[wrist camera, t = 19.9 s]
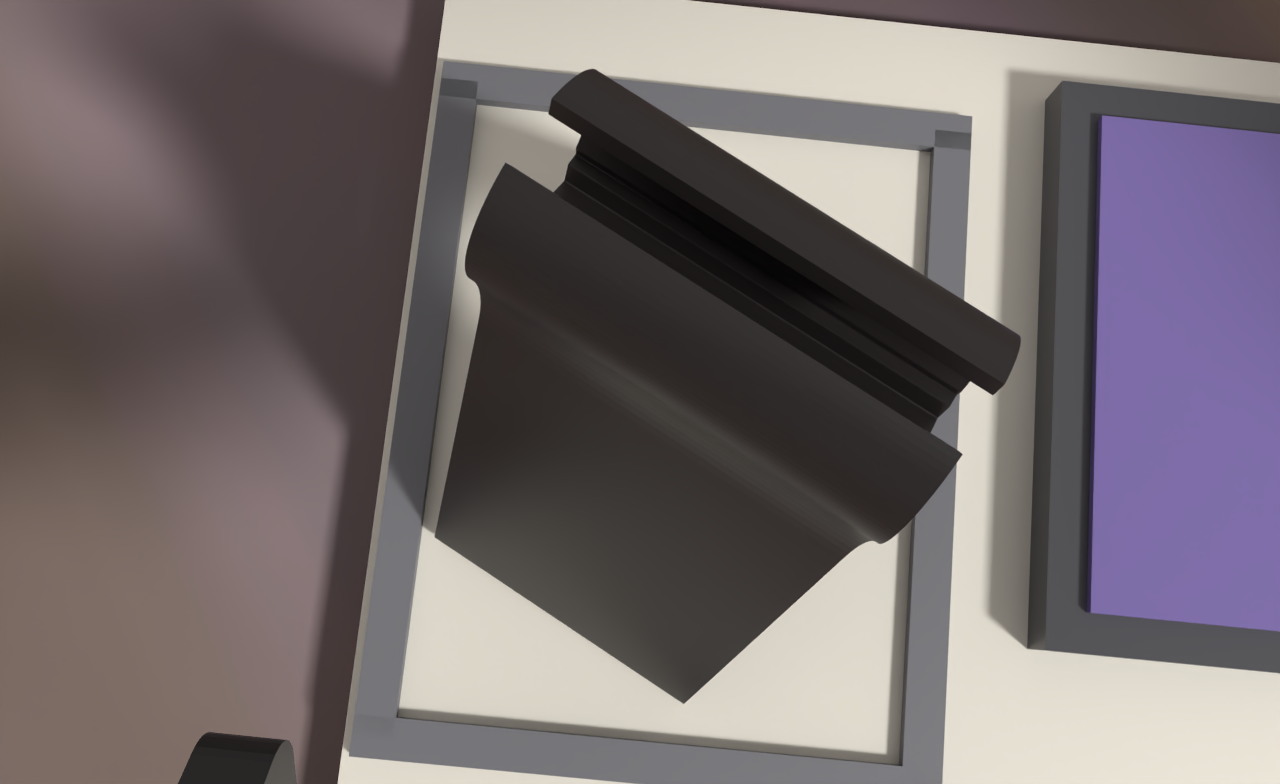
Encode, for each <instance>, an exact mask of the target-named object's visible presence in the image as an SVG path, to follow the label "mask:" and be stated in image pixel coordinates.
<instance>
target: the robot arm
mask: <svg viewBox="0 0 1280 784" xmlns="http://www.w3.org/2000/svg"><path fill="white" fill-rule="evenodd" d="M178 784H296V774H295V765H294V755H293V748H292V745H291V743H290V741H288V740H281V739H271V738H261V737H251V736H242V735H232V734H222V733H212V732H208V733H206V734H204V735H203V736H202V737H201V738H200V740H199V741H198V742H197V744H196V746H195V748H194V750H193V752H192V754H191V756H190V758H189V760H188V763H187V765H186V767H185V769H184V772H183V774H182V776H181V778H180V781H179V783H178Z"/></svg>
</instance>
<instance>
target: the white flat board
mask: <svg viewBox="0 0 1280 784" xmlns="http://www.w3.org/2000/svg"><path fill="white" fill-rule="evenodd" d="M444 61H451V62H460V63H470V64H479V65H489V66H498V67H508V68H517V69H527V70H536V71H546V72H555V73H565V74H574V75H578V74H579V73H581V72H583V71H585V70H588V69H596V70H597V71H599V72H601V73H602V74H604V75H605V76H607V77H609V78H613V79H622V80H632V81H641V82H651V83H660V84H670V85H679V86H689V87H698V88H708V89H717V90H727V91H736V92H746V93H755V94H765V95H774V96H784V97H793V98H803V99H813V100H822V101H832V102H841V103H851V104H860V105H870V106H879V107H889V108H898V109H908V110H917V111H927V112H936V113H946V114H955V115H965V116H972V136H971V158H970V180H969V202H968V224H967V247H966V269H965V291H964V301H966V302H967V303H969V304H971V305H972V306H974V307H975V308H977V309H979V310H980V311H982V312H983V313H985V314H987V315H988V316H990V317H991V318H993V319H995V320H996V321H998V322H999V323H1001V324H1002V325H1004V326H1006V327H1007V328H1009V329H1010V330H1012V331H1014V332H1015V333H1017V334H1018V335H1020V337H1021V344H1020V349H1019V353H1018V356H1017V359H1016V361H1015V364H1014V366H1013V368H1012V371H1011V373H1010V375H1009V377H1008V379H1007V381H1006V383H1005V385H1004V386H1003V387H1002V388H1001V389H999V390H998V391H997V392H996V393H995V394H994V395H991V394H990V393H988V392H986V391H985V390H983V389H982V388H980V387H979V386H977V385H975V384H974V383H972V382H971V381H970V382H969V383H968V385H967V386H966V387H965V388H964V389H963V391H962V392H961V393H960V402H959V424H958V446H957V450H958V451H960V452H961V453H962V454H963V455H962V456H961V458H960V459H959V461H958V462H957V468H956V491H955V513H954V535H953V557H952V579H951V601H950V624H949V646H948V668H947V690H946V712H945V734H944V757H943V779H942V784H1280V674H1279V673H1269V672H1258V671H1248V670H1238V669H1227V668H1217V667H1207V666H1197V665H1186V664H1176V663H1166V662H1156V661H1145V660H1135V659H1125V658H1114V657H1104V656H1094V655H1084V654H1073V653H1063V652H1053V651H1043V650H1032V649H1027V638H1028V607H1029V577H1030V546H1031V516H1032V485H1033V455H1034V424H1035V394H1036V363H1037V333H1038V302H1039V272H1040V242H1041V211H1042V181H1043V150H1044V120H1045V100H1046V99H1047V98H1048V97H1049V95H1050V94H1051V93H1052V92H1053V91H1054V90H1055V88H1056V87H1057V86H1058V85H1059V84H1060V83H1061V81H1071V82H1080V83H1090V84H1099V85H1109V86H1118V87H1128V88H1137V89H1147V90H1156V91H1166V92H1175V93H1185V94H1194V95H1203V96H1213V97H1222V98H1232V99H1241V100H1251V101H1260V102H1270V103H1279V104H1280V63H1274V62H1264V61H1255V60H1245V59H1236V58H1226V57H1217V56H1208V55H1198V54H1189V53H1179V52H1170V51H1161V50H1151V49H1142V48H1132V47H1123V46H1114V45H1104V44H1095V43H1085V42H1076V41H1067V40H1057V39H1048V38H1038V37H1029V36H1020V35H1010V34H1001V33H991V32H982V31H972V30H963V29H954V28H944V27H935V26H925V25H916V24H907V23H897V22H888V21H878V20H869V19H860V18H850V17H841V16H831V15H822V14H813V13H803V12H794V11H784V10H775V9H765V8H756V7H747V6H737V5H728V4H718V3H709V2H700V1H690V0H445V6H444V13H443V21H442V28H441V35H440V42H439V50H438V57H437V64H436V72H435V79H434V86H433V93H432V101H431V108H430V115H429V122H428V130H427V137H426V144H425V152H424V159H423V166H422V173H421V181H420V188H419V195H418V202H417V210H416V217H415V224H414V231H413V239H412V246H411V253H410V261H409V268H408V275H407V282H406V290H405V297H404V304H403V311H402V319H401V326H400V333H399V340H398V348H397V355H396V362H395V370H394V377H393V384H392V391H391V399H390V406H389V413H388V420H387V428H386V435H385V442H384V450H383V457H382V464H381V471H380V479H379V486H378V493H377V500H376V508H375V515H374V522H373V529H372V537H371V544H370V551H369V559H368V566H367V573H366V580H365V588H364V595H363V602H362V609H361V617H360V624H359V631H358V638H357V646H356V653H355V660H354V668H353V675H352V682H351V689H350V697H349V704H348V711H347V718H346V726H345V733H344V740H343V748H342V755H341V762H340V769H339V777H338V784H634V783H623V782H613V781H602V780H591V779H581V778H570V777H560V776H549V775H539V774H528V773H518V772H507V771H497V770H486V769H475V768H465V767H454V766H444V765H433V764H423V763H412V762H402V761H391V760H381V759H370V758H359V757H349V751H350V743H351V736H352V729H353V721H354V714H355V707H356V699H357V692H358V685H359V677H360V670H361V663H362V655H363V648H364V641H365V633H366V626H367V619H368V611H369V604H370V597H371V589H372V582H373V575H374V567H375V560H376V553H377V545H378V538H379V531H380V523H381V516H382V509H383V501H384V494H385V487H386V480H387V472H388V465H389V458H390V450H391V443H392V436H393V428H394V421H395V414H396V406H397V399H398V392H399V384H400V377H401V370H402V362H403V355H404V348H405V340H406V333H407V326H408V318H409V311H410V304H411V296H412V289H413V282H414V274H415V267H416V260H417V252H418V245H419V238H420V230H421V223H422V216H423V208H424V201H425V194H426V186H427V179H428V172H429V164H430V157H431V150H432V142H433V135H434V128H435V120H436V113H437V106H438V98H439V91H440V84H441V76H442V69H443V62H444ZM548 113H549V112H542V111H532V110H523V109H513V108H504V107H494V106H485V105H477V111H476V118H475V126H474V134H473V141H472V149H471V157H470V165H469V172H468V180H467V188H466V195H465V203H464V211H463V219H462V226H461V234H460V242H459V249H458V257H457V265H456V273H455V280H454V288H453V296H452V303H451V311H450V319H449V327H448V334H447V342H446V350H445V357H444V365H443V373H442V380H441V388H440V396H439V404H438V411H437V419H436V427H435V434H434V442H433V450H432V458H431V465H430V473H429V481H428V488H427V496H426V504H425V512H424V519H423V527H422V535H421V542H420V550H419V558H418V566H417V573H416V581H415V589H414V596H413V604H412V612H411V620H410V627H409V635H408V643H407V650H406V658H405V666H404V674H403V681H402V689H401V697H400V704H399V712H398V717H405V718H416V719H426V720H437V721H447V722H458V723H468V724H479V725H489V726H500V727H510V728H521V729H531V730H542V731H552V732H563V733H573V734H583V735H594V736H604V737H615V738H625V739H636V740H646V741H657V742H667V743H678V744H688V745H699V746H709V747H720V748H730V749H741V750H751V751H762V752H772V753H782V754H793V755H803V756H814V757H824V758H835V759H845V760H856V761H866V762H877V763H887V764H898V765H899V752H900V733H901V713H902V694H903V675H904V656H905V636H906V617H907V598H908V579H909V559H910V540H911V521H912V520H911V521H910V522H909V523H908V524H907V525H906V526H905V527H904V528H903V529H902V530H901V531H900V532H899V533H898V534H896V535H895V536H894V537H893V538H892V539H890V540H889V541H887V542H885V543H883V544H878V543H876V542H875V541H869V542H866V543H864V544H862V545H860V546H858V547H857V548H855V549H854V550H853V551H852V552H850V553H849V554H848V555H847V556H846V557H844V558H843V559H842V560H841V561H840V562H839V563H838V564H837V565H836V566H835V567H833V568H832V569H831V570H830V571H829V572H828V573H827V574H826V575H825V576H824V577H823V578H821V579H820V580H819V581H818V582H817V583H816V584H815V585H814V586H813V587H812V588H811V589H809V590H808V591H807V592H806V593H805V594H804V595H803V596H802V597H801V598H800V599H798V600H797V601H796V602H795V603H794V604H793V605H792V606H791V607H790V608H789V609H788V610H786V611H785V612H784V613H783V614H782V615H781V616H780V617H779V618H778V619H777V620H775V621H774V622H773V623H772V624H771V625H770V626H769V627H768V628H767V629H766V630H765V631H763V632H762V633H761V634H760V635H759V636H758V637H757V638H756V639H755V640H754V641H752V642H751V643H750V644H749V645H748V646H747V647H746V648H745V649H744V650H743V651H742V652H740V653H739V654H738V655H737V656H736V657H735V658H734V659H733V660H732V661H731V662H729V663H728V664H727V665H726V666H725V667H724V668H723V669H722V670H721V671H720V672H719V673H717V674H716V675H715V676H714V677H713V678H712V679H711V680H710V681H709V682H708V683H706V684H705V685H704V686H703V687H702V688H701V689H700V690H699V691H698V692H697V693H696V694H694V695H693V696H692V697H691V698H690V699H689V700H688V701H687V702H686V703H685V704H683V703H681V702H680V701H678V700H677V699H675V698H674V697H672V696H671V695H669V694H668V693H666V692H665V691H663V690H662V689H660V688H659V687H657V686H656V685H654V684H653V683H651V682H650V681H648V680H647V679H645V678H644V677H642V676H641V675H639V674H638V673H636V672H635V671H633V670H632V669H630V668H629V667H627V666H626V665H624V664H623V663H621V662H620V661H618V660H617V659H615V658H614V657H612V656H611V655H609V654H608V653H606V652H605V651H603V650H602V649H600V648H599V647H598V646H596V645H595V644H593V643H592V642H590V641H589V640H587V639H586V638H584V637H583V636H581V635H580V634H578V633H577V632H575V631H574V630H572V629H571V628H569V627H568V626H566V625H565V624H563V623H562V622H560V621H559V620H557V619H556V618H554V617H553V616H551V615H550V614H548V613H547V612H545V611H544V610H542V609H541V608H539V607H538V606H536V605H535V604H533V603H532V602H530V601H529V600H527V599H526V598H524V597H523V596H521V595H520V594H518V593H517V592H515V591H514V590H512V589H511V588H509V587H508V586H506V585H505V584H503V583H502V582H500V581H499V580H497V579H496V578H494V577H493V576H491V575H490V574H488V573H487V572H485V571H484V570H482V569H481V568H479V567H478V566H476V565H475V564H473V563H472V562H470V561H469V560H467V559H466V558H465V557H463V556H462V555H460V554H459V553H457V552H456V551H454V550H453V549H451V548H450V547H448V546H447V545H445V544H444V543H442V542H441V541H439V540H438V539H436V538H435V532H436V527H437V522H438V517H439V512H440V507H441V502H442V497H443V492H444V487H445V483H446V478H447V473H448V468H449V463H450V458H451V453H452V448H453V443H454V438H455V433H456V428H457V424H458V419H459V414H460V409H461V404H462V399H463V394H464V389H465V384H466V379H467V374H468V369H469V364H470V360H471V355H472V350H473V345H474V340H475V335H476V330H477V325H478V320H479V314H480V304H481V300H480V292H479V289H478V286H477V285H476V283H475V282H474V281H472V280H471V279H469V278H468V277H467V275H466V272H465V256H466V251H467V247H468V243H469V239H470V236H471V233H472V230H473V227H474V225H475V222H476V220H477V217H478V215H479V212H480V210H481V208H482V206H483V204H484V201H485V199H486V197H487V195H488V193H489V191H490V189H491V187H492V185H493V183H494V182H495V180H496V178H497V176H498V174H499V173H500V171H501V169H502V167H503V166H504V164H505V163H507V164H509V165H511V166H513V167H515V168H516V169H518V170H519V171H521V172H522V173H524V174H526V175H527V176H529V177H530V178H532V179H533V180H535V181H537V182H538V183H540V184H541V185H543V186H544V187H546V188H548V189H549V190H551V191H552V192H554V191H555V190H556V189H557V188H558V187H559V186H560V185H561V184H562V183H563V182H564V180H565V176H566V171H567V167H568V164H569V162H570V161H571V160H572V158H573V157H574V156H575V154H576V146H577V144H578V142H579V139H580V137H581V135H580V134H579V133H577V132H575V131H574V130H572V129H571V128H569V127H568V126H566V125H564V124H563V123H561V122H560V121H558V120H556V119H555V118H553V117H552V116H550V115H549V114H548ZM688 128H690V129H692V130H693V131H695V132H696V133H698V134H700V135H701V136H703V137H704V138H706V139H708V140H709V141H711V142H712V143H714V144H715V145H717V146H719V147H720V148H722V149H723V150H725V151H727V152H728V153H730V154H731V155H733V156H735V157H736V158H738V159H739V160H741V161H743V162H744V163H746V164H747V165H749V166H751V167H752V168H754V169H755V170H757V171H759V172H760V173H762V174H763V175H765V176H767V177H768V178H770V179H771V180H773V181H774V182H776V183H778V184H779V185H781V186H782V187H784V188H786V189H787V190H789V191H790V192H792V193H794V194H795V195H797V196H798V197H800V198H802V199H803V200H805V201H806V202H808V203H810V204H811V205H813V206H814V207H816V208H818V209H819V210H821V211H822V212H824V213H826V214H827V215H829V216H830V217H832V218H833V219H835V220H837V221H838V222H840V223H841V224H843V225H845V226H846V227H848V228H849V229H851V230H853V231H854V232H856V233H857V234H859V235H861V236H862V237H864V238H865V239H867V240H869V241H870V242H872V243H873V244H875V245H877V246H878V247H880V248H881V249H883V250H885V251H886V252H888V253H889V254H891V255H892V256H894V257H896V258H897V259H899V260H900V261H902V262H904V263H905V264H907V265H908V266H910V267H912V268H913V269H915V270H916V271H918V272H920V273H921V274H923V275H924V270H925V251H926V232H927V212H928V193H929V174H930V155H931V152H925V151H915V150H906V149H896V148H887V147H877V146H867V145H858V144H848V143H839V142H829V141H820V140H810V139H800V138H791V137H781V136H772V135H762V134H753V133H743V132H733V131H724V130H714V129H705V128H695V127H688Z"/></svg>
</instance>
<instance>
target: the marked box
mask: <svg viewBox="0 0 1280 784" xmlns="http://www.w3.org/2000/svg"><path fill="white" fill-rule="evenodd" d="M575 76H576V75H574V74H565V73H555V72H546V71H536V70H527V69H517V68H508V67H498V66H489V65H479V64H470V63H460V62H451V61H444V62H443V69H442V76H441V84H440V91H439V98H438V106H437V113H436V120H435V128H434V135H433V142H432V150H431V157H430V164H429V172H428V179H427V186H426V194H425V201H424V208H423V216H422V223H421V230H420V238H419V245H418V252H417V260H416V267H415V274H414V282H413V289H412V296H411V304H410V311H409V318H408V326H407V333H406V340H405V348H404V355H403V362H402V370H401V377H400V384H399V392H398V399H397V406H396V414H395V421H394V428H393V436H392V443H391V450H390V458H389V465H388V472H387V480H386V487H385V494H384V501H383V509H382V516H381V523H380V531H379V538H378V545H377V553H376V560H375V567H374V575H373V582H372V589H371V597H370V604H369V611H368V619H367V626H366V633H365V641H364V648H363V655H362V663H361V670H360V677H359V685H358V692H357V699H356V707H355V714H354V721H353V729H352V736H351V743H350V751H349V757H359V758H370V759H381V760H391V761H402V762H412V763H423V764H433V765H444V766H454V767H465V768H475V769H486V770H497V771H507V772H518V773H528V774H539V775H549V776H560V777H570V778H581V779H591V780H602V781H613V782H623V783H634V784H942V779H943V757H944V734H945V712H946V690H947V668H948V646H949V624H950V601H951V579H952V557H953V535H954V513H955V491H956V468H957V463H956V465H955V466H954V468H953V469H952V470H951V472H950V473H949V474H948V476H947V477H946V479H945V480H944V481H943V483H942V484H941V485H940V486H939V488H938V489H937V490H936V492H935V493H934V494H933V495H932V497H931V498H930V499H929V500H928V502H927V503H926V504H925V505H924V506H923V508H922V509H921V510H920V511H919V512H918V513H917V514H916V515H915V517H914V518H913V519H912V521H911V540H910V559H909V579H908V598H907V617H906V636H905V656H904V675H903V694H902V713H901V733H900V752H899V765H898V764H887V763H877V762H866V761H856V760H845V759H835V758H824V757H814V756H803V755H793V754H782V753H772V752H762V751H751V750H741V749H730V748H720V747H709V746H699V745H688V744H678V743H667V742H657V741H646V740H636V739H625V738H615V737H604V736H594V735H583V734H573V733H563V732H552V731H542V730H531V729H521V728H510V727H500V726H489V725H479V724H468V723H458V722H447V721H437V720H426V719H416V718H405V717H398V712H399V704H400V697H401V689H402V681H403V674H404V666H405V658H406V650H407V643H408V635H409V627H410V620H411V612H412V604H413V596H414V589H415V581H416V573H417V566H418V558H419V550H420V542H421V535H422V527H423V519H424V512H425V504H426V496H427V488H428V481H429V473H430V465H431V458H432V450H433V442H434V434H435V427H436V419H437V411H438V404H439V396H440V388H441V380H442V373H443V365H444V357H445V350H446V342H447V334H448V327H449V319H450V311H451V303H452V296H453V288H454V280H455V273H456V265H457V257H458V249H459V242H460V234H461V226H462V219H463V211H464V203H465V195H466V188H467V180H468V172H469V165H470V157H471V149H472V141H473V134H474V126H475V118H476V111H477V105H485V106H494V107H504V108H513V109H523V110H532V111H542V112H549V108H550V104H551V99H552V97H553V96H554V95H555V94H556V93H557V92H558V91H559V90H560V89H561V88H562V87H563V86H564V85H565V84H566V83H567V82H569V81H570V80H571V79H572V78H574V77H575ZM610 79H612V80H613V81H615V82H617V83H618V84H620V85H621V86H623V87H625V88H626V89H628V90H629V91H631V92H633V93H634V94H636V95H637V96H639V97H641V98H642V99H644V100H645V101H647V102H649V103H650V104H652V105H653V106H655V107H656V108H658V109H660V110H661V111H663V112H664V113H666V114H668V115H669V116H671V117H672V118H674V119H676V120H677V121H679V122H680V123H682V124H684V125H685V126H687V127H695V128H705V129H714V130H724V131H733V132H743V133H753V134H762V135H772V136H781V137H791V138H800V139H810V140H820V141H829V142H839V143H848V144H858V145H867V146H877V147H887V148H896V149H906V150H915V151H925V152H931V155H930V174H929V193H928V212H927V232H926V251H925V270H924V276H926V277H928V278H929V279H931V280H932V281H934V282H936V283H937V284H939V285H940V286H942V287H943V288H945V289H947V290H948V291H950V292H951V293H953V294H955V295H956V296H958V297H959V298H961V299H963V300H964V291H965V269H966V247H967V224H968V202H969V180H970V158H971V136H972V116H965V115H955V114H946V113H936V112H927V111H917V110H908V109H898V108H889V107H879V106H870V105H860V104H851V103H841V102H832V101H822V100H813V99H803V98H793V97H784V96H774V95H765V94H755V93H746V92H736V91H727V90H717V89H708V88H698V87H689V86H679V85H670V84H660V83H651V82H641V81H632V80H622V79H613V78H610ZM959 402H960V393H959V394H958V395H957V396H956V397H955V399H954V401H953V402H952V404H951V406H950V407H949V408H948V409H947V410H946V411H945V412H944V413H943V414H942V415H941V416H939V417H938V419H937V421H936V423H935V425H934V427H933V429H932V431H931V434H933V435H935V436H936V437H938V438H939V439H941V440H942V441H944V442H946V443H947V444H949V445H950V446H952V447H953V448H955V449H957V446H958V424H959Z"/></svg>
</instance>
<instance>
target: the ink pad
mask: <svg viewBox="0 0 1280 784" xmlns="http://www.w3.org/2000/svg"><path fill="white" fill-rule="evenodd" d="M1027 649H1032V650H1043V651H1053V652H1063V653H1073V654H1084V655H1094V656H1104V657H1114V658H1125V659H1135V660H1145V661H1156V662H1166V663H1176V664H1186V665H1197V666H1207V667H1217V668H1227V669H1238V670H1248V671H1258V672H1269V673H1279V674H1280V104H1279V103H1270V102H1260V101H1251V100H1241V99H1232V98H1222V97H1213V96H1203V95H1194V94H1185V93H1175V92H1166V91H1156V90H1147V89H1137V88H1128V87H1118V86H1109V85H1099V84H1090V83H1080V82H1071V81H1061V83H1060V84H1059V85H1058V86H1057V87H1056V88H1055V90H1054V91H1053V92H1052V93H1051V94H1050V95H1049V97H1048V98H1047V99H1046V100H1045V120H1044V150H1043V181H1042V211H1041V242H1040V272H1039V302H1038V333H1037V363H1036V394H1035V424H1034V455H1033V485H1032V516H1031V546H1030V577H1029V607H1028V638H1027Z"/></svg>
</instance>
